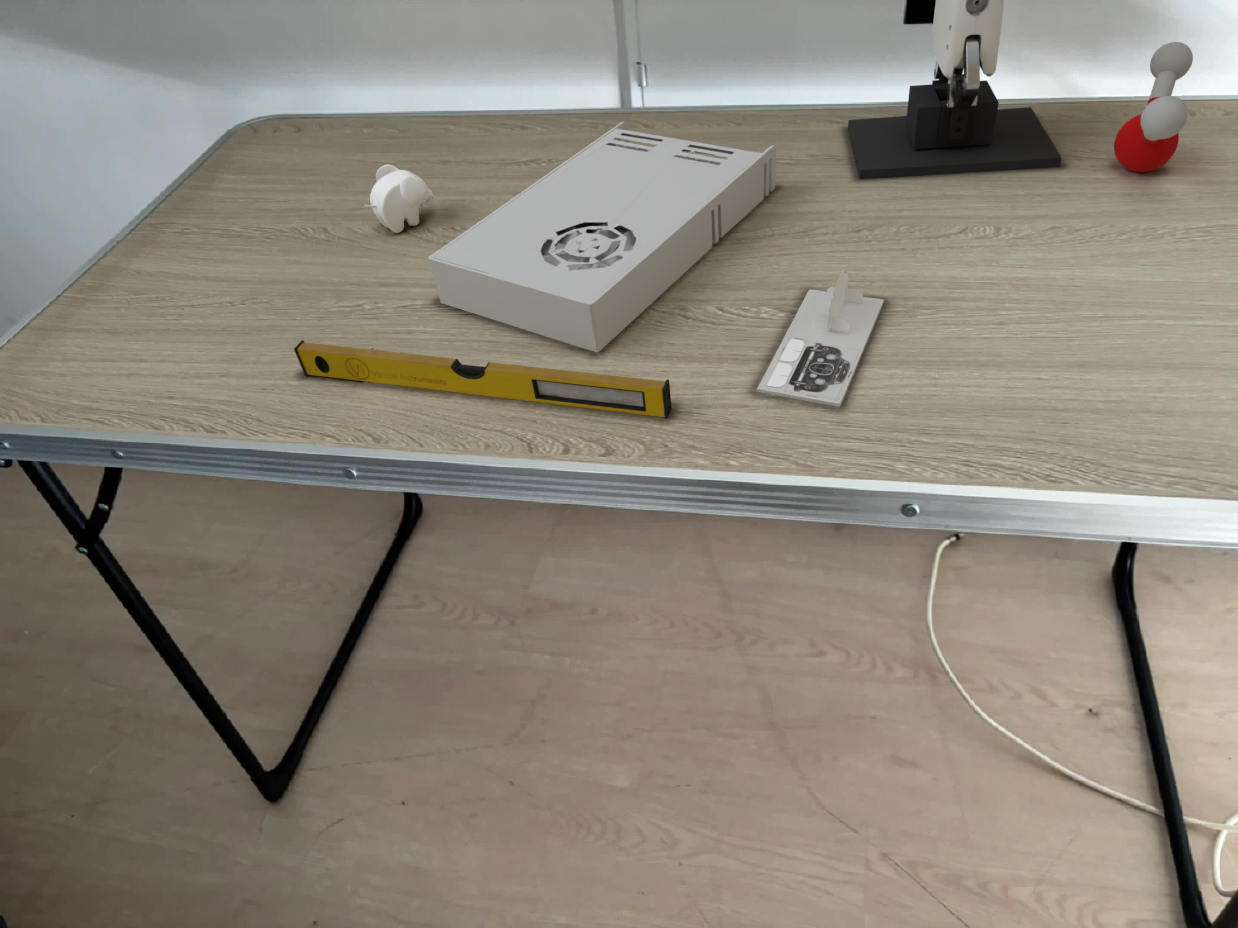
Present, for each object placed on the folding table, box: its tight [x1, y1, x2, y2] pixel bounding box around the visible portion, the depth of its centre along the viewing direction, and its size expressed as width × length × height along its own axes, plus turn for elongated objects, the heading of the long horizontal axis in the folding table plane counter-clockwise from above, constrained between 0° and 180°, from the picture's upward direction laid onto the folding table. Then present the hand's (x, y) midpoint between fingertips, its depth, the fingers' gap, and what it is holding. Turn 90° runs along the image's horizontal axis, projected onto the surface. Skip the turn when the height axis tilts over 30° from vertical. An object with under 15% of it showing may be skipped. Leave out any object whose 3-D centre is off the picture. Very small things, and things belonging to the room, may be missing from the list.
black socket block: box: [906, 80, 1000, 149], centre depth 99 cm, size 8×6×4 cm
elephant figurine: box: [364, 163, 437, 234], centre depth 100 cm, size 7×8×6 cm
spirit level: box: [293, 339, 673, 420], centre depth 76 cm, size 33×1×3 cm, turn 72°
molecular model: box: [1113, 41, 1194, 173], centre depth 90 cm, size 18×6×10 cm, turn 154°
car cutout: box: [756, 267, 885, 408], centre depth 75 cm, size 15×7×4 cm, turn 156°
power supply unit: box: [427, 121, 777, 353], centre depth 92 cm, size 19×33×5 cm, turn 146°
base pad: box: [847, 106, 1062, 181], centre depth 100 cm, size 20×13×4 cm, turn 85°
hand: (949, 127), depth 100 cm, fingers closed on black socket block, 6 cm apart
